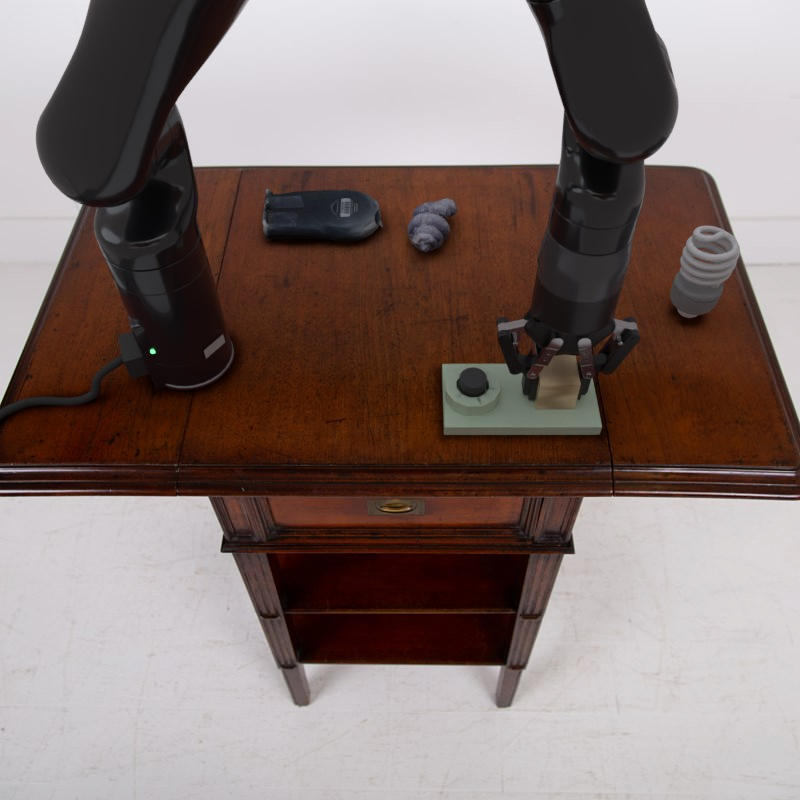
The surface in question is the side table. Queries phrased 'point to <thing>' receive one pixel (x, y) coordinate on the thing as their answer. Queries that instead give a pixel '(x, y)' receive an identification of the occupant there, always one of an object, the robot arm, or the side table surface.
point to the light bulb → (703, 271)
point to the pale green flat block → (510, 407)
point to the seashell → (431, 224)
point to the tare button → (473, 382)
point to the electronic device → (320, 215)
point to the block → (558, 384)
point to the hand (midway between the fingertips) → (553, 392)
